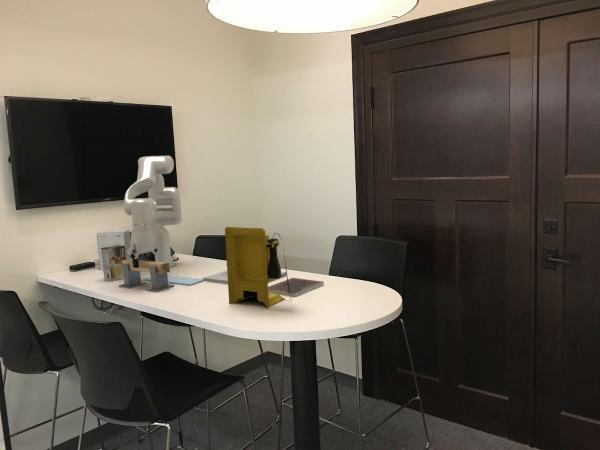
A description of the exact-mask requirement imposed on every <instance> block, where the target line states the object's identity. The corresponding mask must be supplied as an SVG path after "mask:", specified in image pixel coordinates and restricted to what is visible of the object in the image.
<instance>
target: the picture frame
mask: <svg viewBox="0 0 600 450" xmlns="http://www.w3.org/2000/svg"><path fill="white" fill-rule="evenodd" d="M288 284H289V290H290V294H289V290H288ZM323 286H324V281H322V280H321V281H320V280H315V279H307V278H306V279H305V278H298V277H290V278H288V283H287V279H285V280H283V281H280V282H277V283H274V284H272V285H268V293H271V294H279V295H280V296H284V297H290V296H291V298H292V297H293V298H296V297H299V296H301V295H303V294H306V293H308V292H310V291H312V290H317V288H321V287H323Z"/></svg>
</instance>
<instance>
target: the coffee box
mask: <svg viewBox="0 0 600 450" xmlns="http://www.w3.org/2000/svg"><path fill="white" fill-rule="evenodd" d="M101 252H102V262H103V269H102V271H103V280H104V281H106V280H108V282H115V281H114V280H116V281H119V280H118V279H120V280H124V279H123V278H124V273H123V269H121V260H125V259H126V255H125V246H122V245H114V246H109V247H103V248H101Z"/></svg>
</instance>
